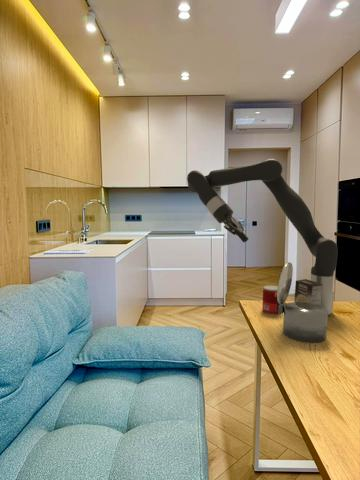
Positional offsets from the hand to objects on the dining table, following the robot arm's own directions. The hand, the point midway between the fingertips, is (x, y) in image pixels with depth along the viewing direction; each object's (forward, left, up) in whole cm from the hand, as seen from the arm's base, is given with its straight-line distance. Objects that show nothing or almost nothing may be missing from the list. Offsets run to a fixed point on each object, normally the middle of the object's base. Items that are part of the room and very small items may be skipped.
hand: (246, 240), depth 130 cm
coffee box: (-26, +7, -33) cm, 43 cm away
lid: (-10, +13, -15) cm, 22 cm away
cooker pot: (-14, +19, -33) cm, 41 cm away
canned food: (-18, -6, -33) cm, 39 cm away
